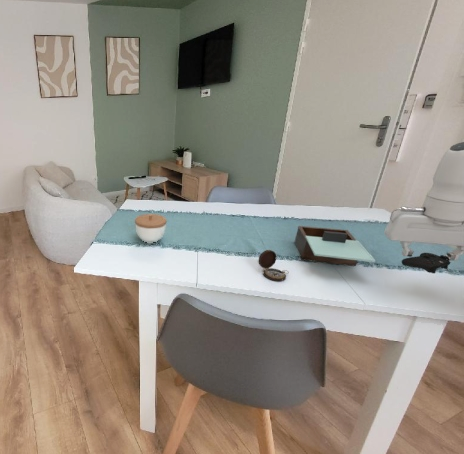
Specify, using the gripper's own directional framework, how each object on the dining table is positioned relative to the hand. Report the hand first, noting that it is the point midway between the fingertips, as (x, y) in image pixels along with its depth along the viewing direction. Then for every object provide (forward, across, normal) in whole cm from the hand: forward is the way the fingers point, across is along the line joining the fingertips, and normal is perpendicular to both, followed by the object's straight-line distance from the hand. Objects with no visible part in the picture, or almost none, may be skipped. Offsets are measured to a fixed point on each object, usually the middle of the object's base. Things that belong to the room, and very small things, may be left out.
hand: (428, 257), depth 77 cm
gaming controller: (+3, 0, 0) cm, 3 cm away
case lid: (+3, -18, +7) cm, 19 cm away
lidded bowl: (+9, -79, +12) cm, 80 cm away
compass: (+10, -35, -2) cm, 36 cm away
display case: (+10, -18, +18) cm, 27 cm away
